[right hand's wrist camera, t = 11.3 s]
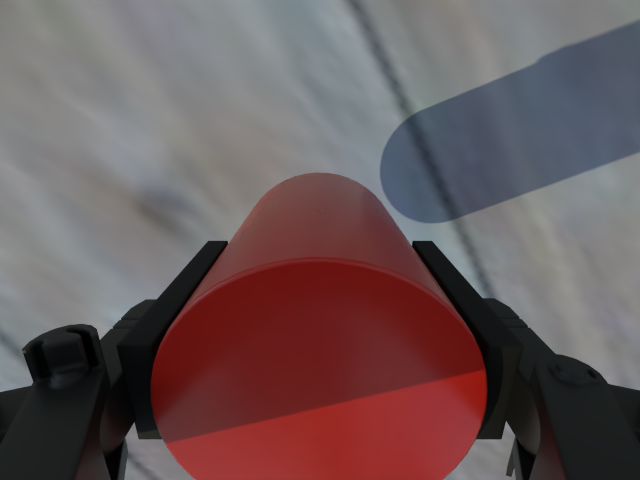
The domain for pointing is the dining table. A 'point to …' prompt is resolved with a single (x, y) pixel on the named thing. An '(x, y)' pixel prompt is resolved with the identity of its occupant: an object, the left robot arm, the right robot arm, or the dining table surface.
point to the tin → (319, 350)
